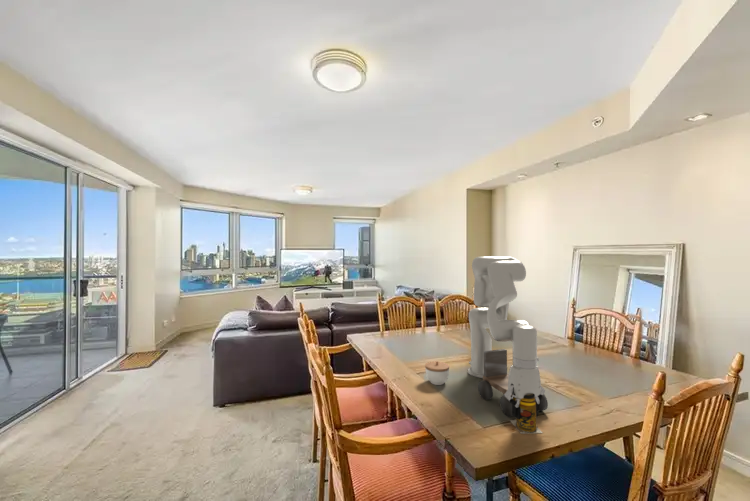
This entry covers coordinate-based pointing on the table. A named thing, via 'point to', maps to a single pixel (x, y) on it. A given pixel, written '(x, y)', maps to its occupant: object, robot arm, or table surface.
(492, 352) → the trolley
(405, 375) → the table surface
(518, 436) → the table surface
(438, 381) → the lidded jar
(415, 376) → the table surface
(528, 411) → the condiment
